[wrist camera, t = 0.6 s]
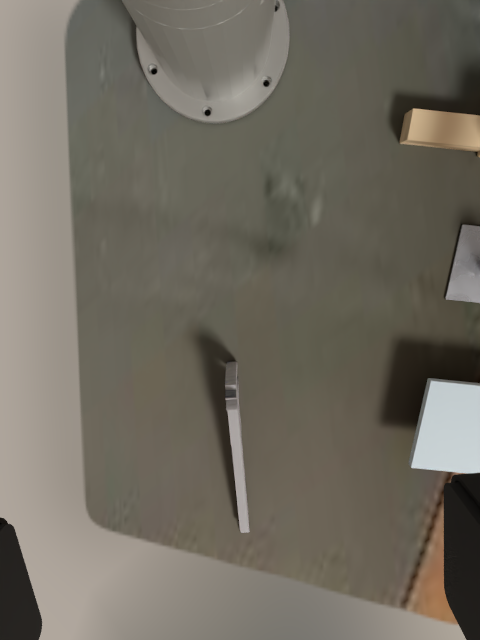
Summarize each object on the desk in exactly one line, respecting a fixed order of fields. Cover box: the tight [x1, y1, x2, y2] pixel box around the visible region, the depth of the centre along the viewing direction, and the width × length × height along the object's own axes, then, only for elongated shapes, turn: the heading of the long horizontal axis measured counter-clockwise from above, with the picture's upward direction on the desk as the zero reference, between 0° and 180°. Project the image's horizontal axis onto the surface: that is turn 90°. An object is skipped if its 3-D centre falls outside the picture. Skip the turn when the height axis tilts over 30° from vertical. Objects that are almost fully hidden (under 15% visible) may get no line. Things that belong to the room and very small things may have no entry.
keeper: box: [408, 378, 480, 474], centre depth 42 cm, size 9×11×4 cm
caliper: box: [225, 361, 249, 533], centre depth 42 cm, size 20×1×6 cm, turn 4°
